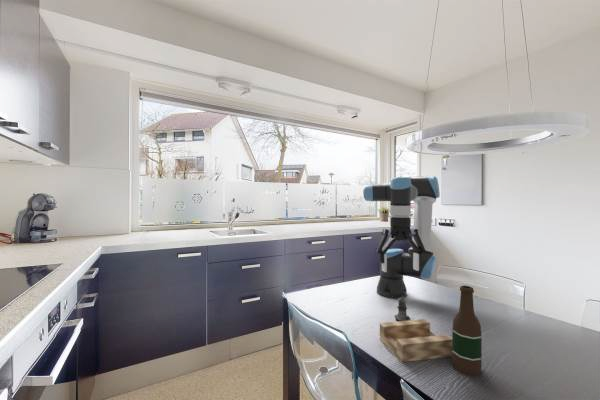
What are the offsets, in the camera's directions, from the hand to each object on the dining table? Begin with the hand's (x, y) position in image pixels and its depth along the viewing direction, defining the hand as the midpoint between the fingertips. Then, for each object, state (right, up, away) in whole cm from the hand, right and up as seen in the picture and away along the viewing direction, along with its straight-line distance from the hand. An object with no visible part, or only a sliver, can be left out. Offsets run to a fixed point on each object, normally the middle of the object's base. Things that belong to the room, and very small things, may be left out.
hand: (400, 270), depth 104 cm
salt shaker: (+1, -22, 0) cm, 22 cm away
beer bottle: (+10, -22, -26) cm, 35 cm away
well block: (-1, -22, -15) cm, 26 cm away
